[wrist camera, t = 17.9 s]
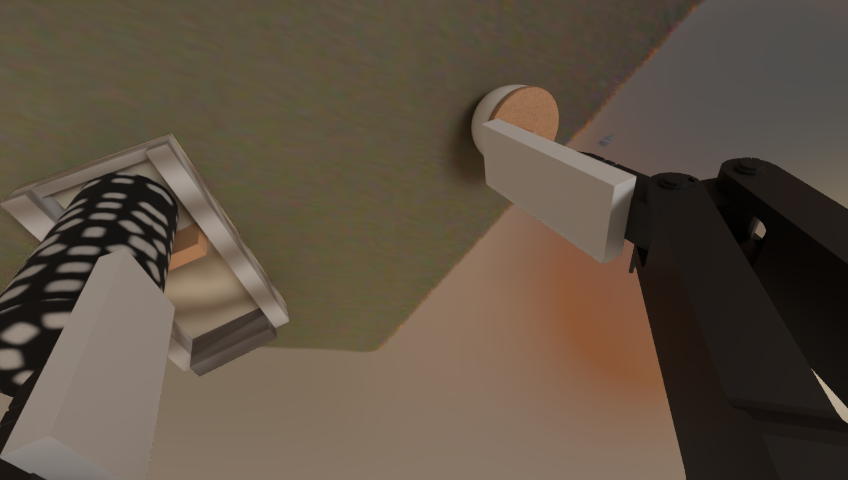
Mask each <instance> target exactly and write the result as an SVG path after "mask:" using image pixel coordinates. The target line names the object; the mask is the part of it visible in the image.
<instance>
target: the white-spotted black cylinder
mask: <svg viewBox="0 0 848 480" xmlns="http://www.w3.org/2000/svg"><path fill="white" fill-rule="evenodd" d="M178 219H179V210H178V205H177V203H176V201H175V199H174V197H173V196H172V195H171V193H170V192H169V191H168V190H167V189H166V188H165V187H163V186H162V185H160V184H159V183H158V182H156V181H154V180H152V179H150V178H148V177H144V176H141V175H138V174H132V173H110V174H105V175H103V176H100V177H97V178H94V179H92V180H91V181H89V182H88V183H87V184H85V185H84V186H83V187H82V188H81V190H80V191H79V192H78V194H77V195H76V196H75V198H74V199H73V200H72V202H71V203H70V204H69V206H68V207H67V208H66V210H65V211H64V212H63V214H62V215H61V216H60V218H59V219H58V220H57V222H56V223H55V224H54V226H53V227H52V228H51V230H50V231H49V232H48V234H47V235H46V236H45V238H44V239H43V240H42V241H41V243H40V244H39V245H38V247H37V248H36V249H35V251H34V252H33V253H32V255H31V256H30V257H29V259H28V260H27V261H26V263H25V264H24V265H23V267H22V268H21V269H20V271H19V272H18V273H17V275H16V276H15V277H14V279H13V280H12V281H11V283H10V284H9V285H8V287H7V288H6V289H5V291H4V292H3V293H2V295H1V296H0V393H3V394H5V395H8V396H11V397H14V396H15V394H16V392H17V390H18V389H19V387H20V386H21V385H22V384H23V383H24V382H25V381H26V380H27V379H28V378H29V376H30V375H31V374H32V373H33V372H34V371H35V370H36V369H37V368H38V367H41V366H43V365H46V363H47V361H48V359H49V357H50V355H51V353H52V351H53V349H54V347H55V345H56V343H57V341H58V339H59V337H60V335H61V333H62V331H63V329H64V327H65V325H66V323H67V321H68V319H69V317H70V315H71V313H72V311H73V309H74V307H75V305H76V303H77V301H78V299H79V297H80V295H81V293H82V291H83V289H84V287H85V285H86V283H87V281H88V278H89V276H90V274H91V272H92V270H93V268H94V266H95V264H96V262H97V260H98V258H99V257H102V256H105V255H107V254H110V253H113V252H116V251H119V250H122V249H125V248H126V249H127V250H128V251H129V253H130V254H131V255H132V256H133V257H134V259H135V260H136V261H137V262H138V263H139V265H140V266H141V267H142V268H143V269H144V271H145V272H146V273H147V274H148V275H149V277H150V278H151V279H152V280H153V281H154V283H155V284H156V285H157V286H158V287H159V289H160V290H161V291H162V292H163V293H164V290H165V285H166V280H167V275H168V270H169V265H170V260H171V255H172V250H173V245H174V240H175V235H176V230H177V225H178Z"/></svg>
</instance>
